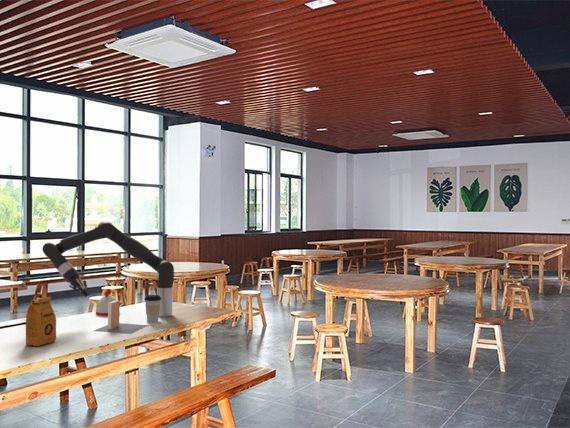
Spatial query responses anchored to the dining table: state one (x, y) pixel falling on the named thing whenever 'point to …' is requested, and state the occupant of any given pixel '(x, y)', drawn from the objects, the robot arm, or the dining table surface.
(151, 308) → the coffee cup
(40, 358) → the dining table surface
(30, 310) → the coffee package
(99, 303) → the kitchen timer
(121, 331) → the mat
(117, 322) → the tile
